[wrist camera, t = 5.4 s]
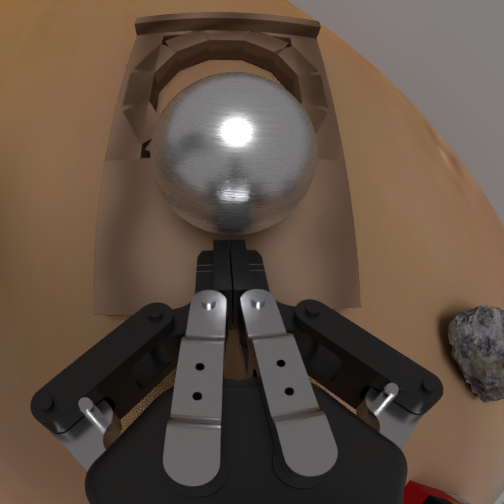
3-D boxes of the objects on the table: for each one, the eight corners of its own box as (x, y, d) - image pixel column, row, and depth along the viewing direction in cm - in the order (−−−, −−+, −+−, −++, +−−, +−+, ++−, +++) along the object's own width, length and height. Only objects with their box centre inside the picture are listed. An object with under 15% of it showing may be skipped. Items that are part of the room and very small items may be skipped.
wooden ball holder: (108, 313, 18) (83, 314, 14) (143, 47, 22) (136, 17, 18) (344, 307, 20) (372, 306, 16) (307, 49, 24) (318, 21, 20)
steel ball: (144, 270, 13) (128, 86, 8) (164, 183, 19) (165, 63, 14) (315, 271, 14) (366, 106, 9) (283, 188, 20) (305, 73, 15)
